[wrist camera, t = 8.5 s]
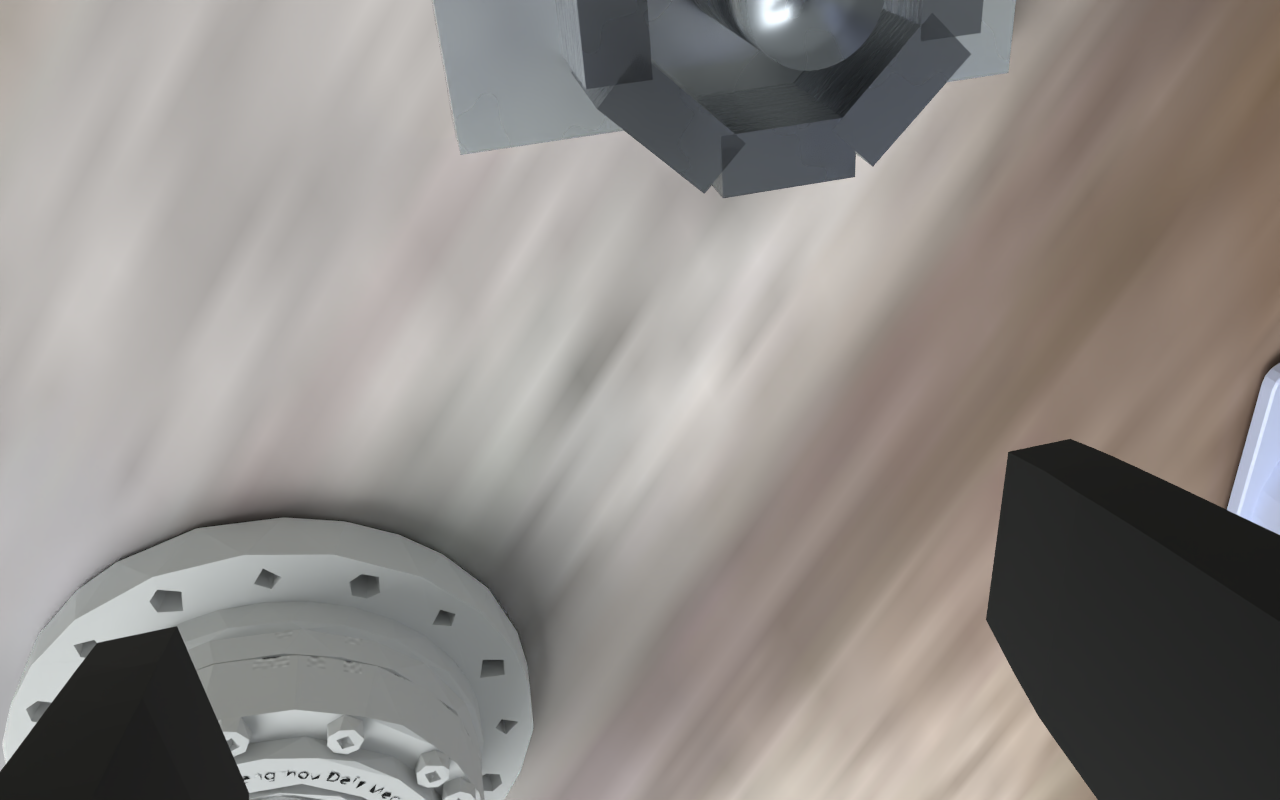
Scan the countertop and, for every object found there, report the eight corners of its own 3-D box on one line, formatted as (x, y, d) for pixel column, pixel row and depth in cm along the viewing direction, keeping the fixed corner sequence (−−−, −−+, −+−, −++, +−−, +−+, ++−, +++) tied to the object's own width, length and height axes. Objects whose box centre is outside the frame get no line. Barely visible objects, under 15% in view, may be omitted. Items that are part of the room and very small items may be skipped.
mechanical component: (415, 431, 19) (-95, 629, 19) (428, 585, 16) (-204, 835, 15) (584, 750, 25) (190, 908, 24) (623, 920, 21) (160, 1109, 21)
